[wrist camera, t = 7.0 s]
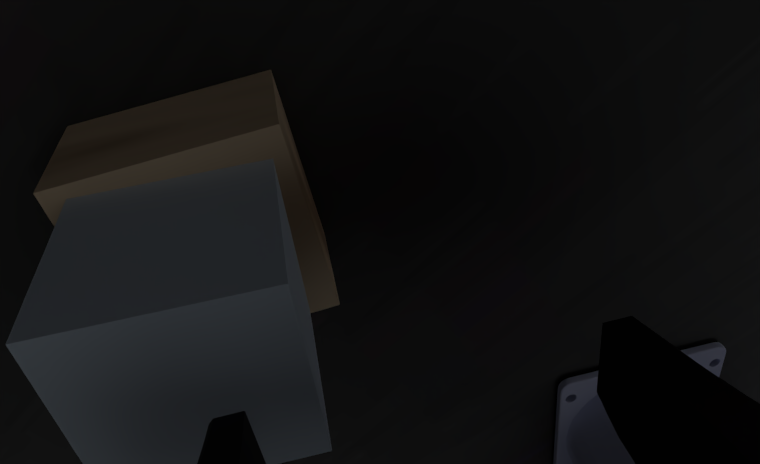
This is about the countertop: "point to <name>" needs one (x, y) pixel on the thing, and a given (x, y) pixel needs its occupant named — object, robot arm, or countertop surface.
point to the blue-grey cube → (174, 321)
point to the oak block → (195, 159)
